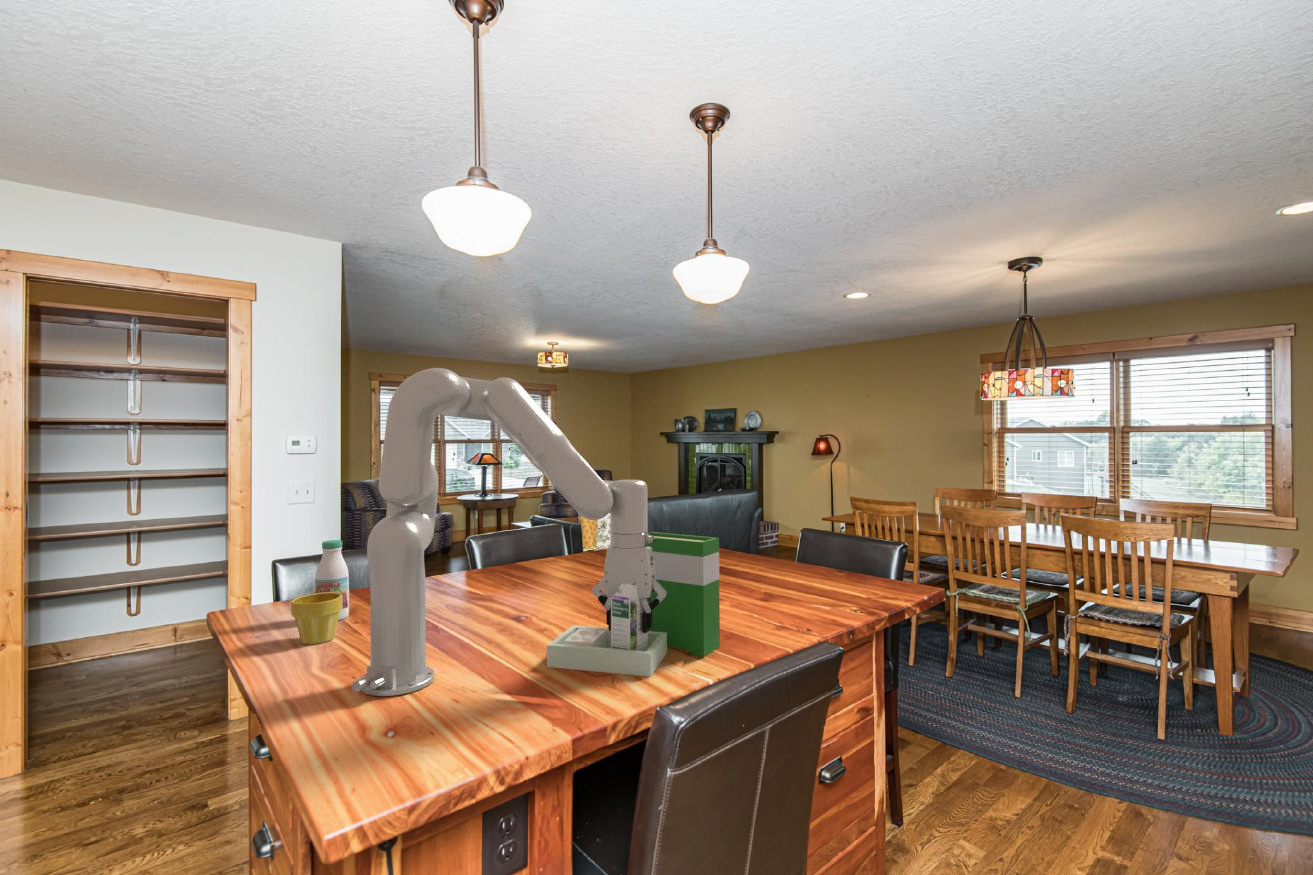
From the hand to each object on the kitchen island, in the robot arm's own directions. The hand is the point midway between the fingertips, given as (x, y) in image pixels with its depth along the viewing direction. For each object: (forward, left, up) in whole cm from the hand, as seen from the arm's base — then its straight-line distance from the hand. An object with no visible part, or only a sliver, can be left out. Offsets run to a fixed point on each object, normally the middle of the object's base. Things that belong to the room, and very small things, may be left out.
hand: (629, 629), depth 120 cm
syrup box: (0, 0, -5) cm, 5 cm away
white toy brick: (0, +9, -6) cm, 11 cm away
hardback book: (+14, -7, -8) cm, 17 cm away
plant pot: (-2, +74, -8) cm, 75 cm away
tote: (0, +4, -7) cm, 8 cm away
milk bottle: (+13, +84, -8) cm, 86 cm away
